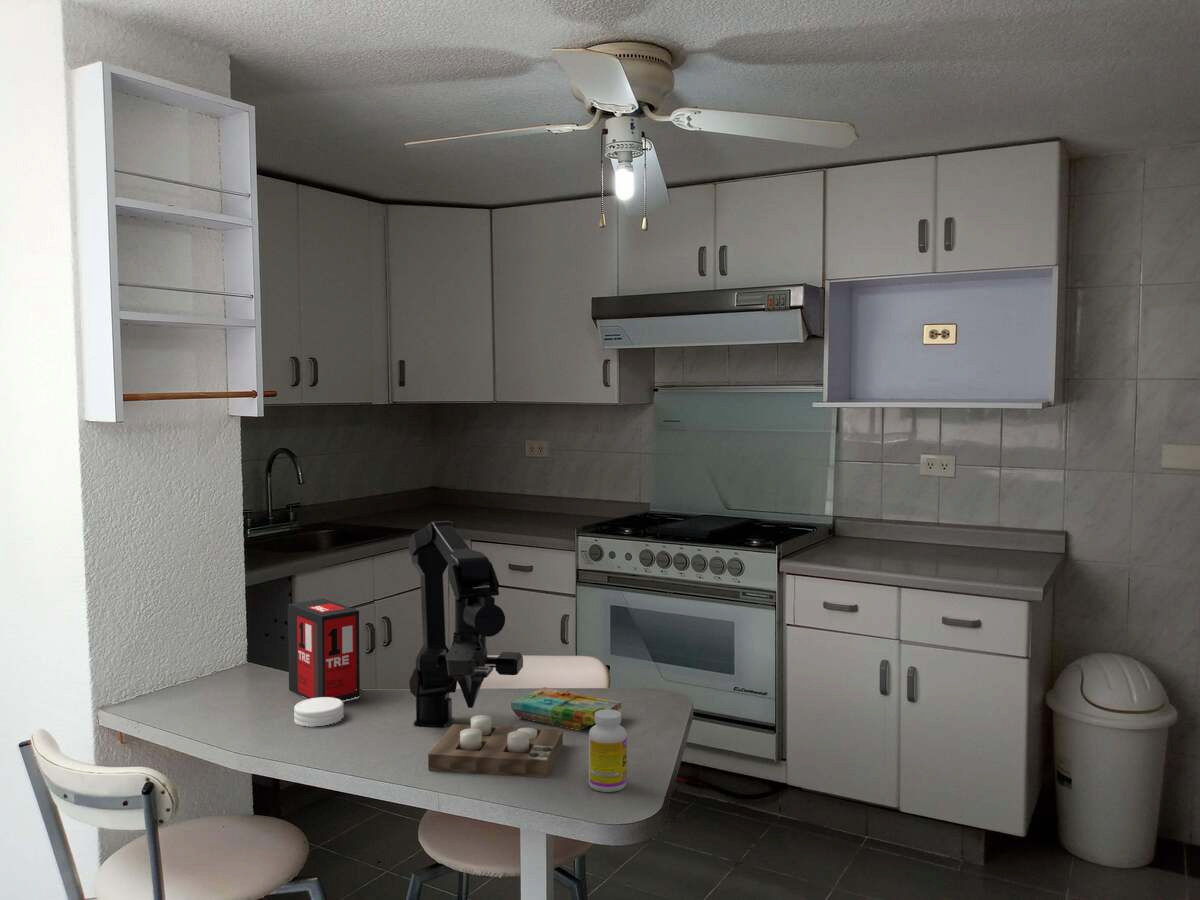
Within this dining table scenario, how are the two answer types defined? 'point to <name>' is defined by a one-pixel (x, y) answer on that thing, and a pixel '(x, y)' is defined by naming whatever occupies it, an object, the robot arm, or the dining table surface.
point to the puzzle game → (561, 707)
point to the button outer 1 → (470, 739)
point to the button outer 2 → (518, 742)
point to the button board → (496, 753)
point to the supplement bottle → (607, 752)
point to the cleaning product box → (323, 649)
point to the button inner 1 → (482, 724)
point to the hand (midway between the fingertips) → (470, 707)
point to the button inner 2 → (530, 732)
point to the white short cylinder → (318, 711)
